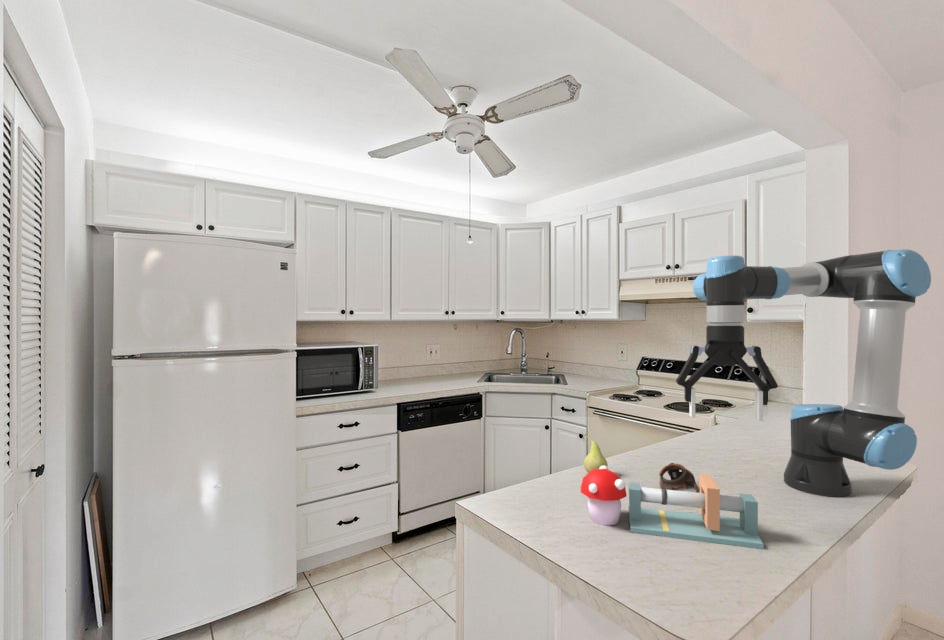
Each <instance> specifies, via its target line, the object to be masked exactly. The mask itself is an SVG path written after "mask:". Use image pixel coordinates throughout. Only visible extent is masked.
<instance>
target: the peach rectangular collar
mask: <svg viewBox="0 0 944 640" xmlns="http://www.w3.org/2000/svg"><path fill="white" fill-rule="evenodd" d="M720 490H721V489H720V488H719V486H718V485H717V483H716V481H715V480H714V478H713V476H712V475H711V474H703V473H702V474H701V473H700V474H699V493H705V508H699V514H701V516H702V519H703V521H704V523H705V525H706V528H707V530H715V531H720V513H721V510H720V495H721V494H720Z"/></svg>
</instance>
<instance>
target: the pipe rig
mask: <svg viewBox="0 0 944 640" xmlns="http://www.w3.org/2000/svg"><path fill="white" fill-rule="evenodd" d="M628 487H629V488H628V519H629V528H630V529H629V530H630V533H636V534H641V535H642V534H643V535H651V536H658V537H659V536H660V537H664V538H665V537H667V538H674V539H675V538H676V539H681V540H690V541H698V542H699V541H700V542H707V543H713V544H722V545H729V546H737V547H746V548H752V549H753V548H754V549H760V550H764V543H763V541H762V540H761V538H760V537H759V533H758V532H759V524H758V521H759V506H758V504H759V502H758V501H757V499H756V498H755V497H754V495H753V494H751V493H750V494H749V493H741V492H739V496H735V495H734V496H733V495H723V494H720V511H724V512H734V513H739V517H729V516H722V515H721V516H720V531H715V530H707V528H706V525H705V523H704V521H703V519H702V516H701V514H700V513H694V512H686V511H685V512H684V511H676V510H668V509H667V510H666V509H661V508H660V509H659V508H658V509H657V508H651V507H650V508H649V507H642V502H643V503H653V504H658V505H659V504H660V505H666V506H667V505H668V506H679V507H687V508H697V509H700V508H705V493H700V492H699V493H697V492H694V491H686V490H684V491H683V490H677V489H674V490H669V489H662V488H654V487H644V486H643V487H642V486H641V484H640V483H637V482H629V483H628Z"/></svg>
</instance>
